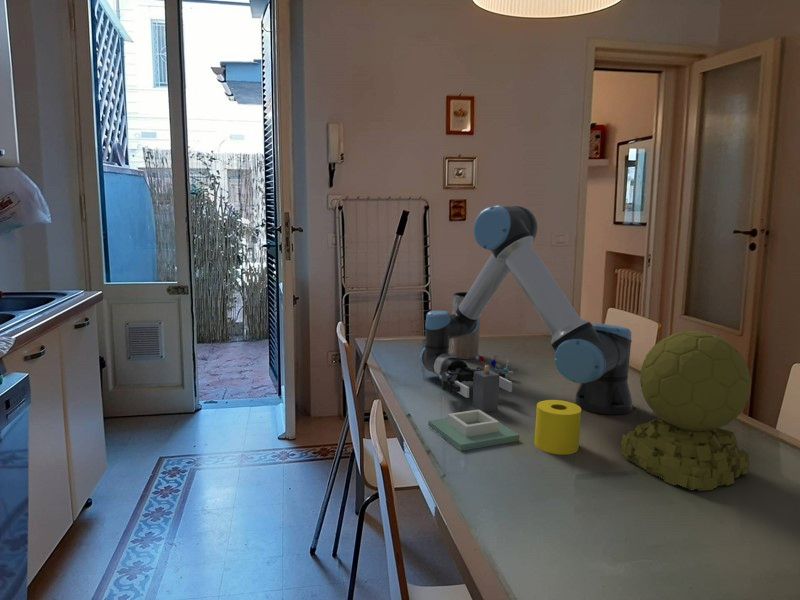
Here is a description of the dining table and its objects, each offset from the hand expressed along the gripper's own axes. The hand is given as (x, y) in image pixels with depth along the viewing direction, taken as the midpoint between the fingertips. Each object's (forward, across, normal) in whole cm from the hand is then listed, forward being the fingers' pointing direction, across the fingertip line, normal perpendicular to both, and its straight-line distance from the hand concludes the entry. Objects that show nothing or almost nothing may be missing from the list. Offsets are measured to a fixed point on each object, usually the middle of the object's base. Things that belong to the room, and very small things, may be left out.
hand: (489, 389), depth 162 cm
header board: (+12, +12, -6) cm, 18 cm away
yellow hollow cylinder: (+26, -2, -6) cm, 26 cm away
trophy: (+44, -21, -6) cm, 50 cm away
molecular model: (-25, -18, -6) cm, 32 cm away
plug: (-2, 0, -6) cm, 6 cm away
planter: (-52, -23, -6) cm, 58 cm away
